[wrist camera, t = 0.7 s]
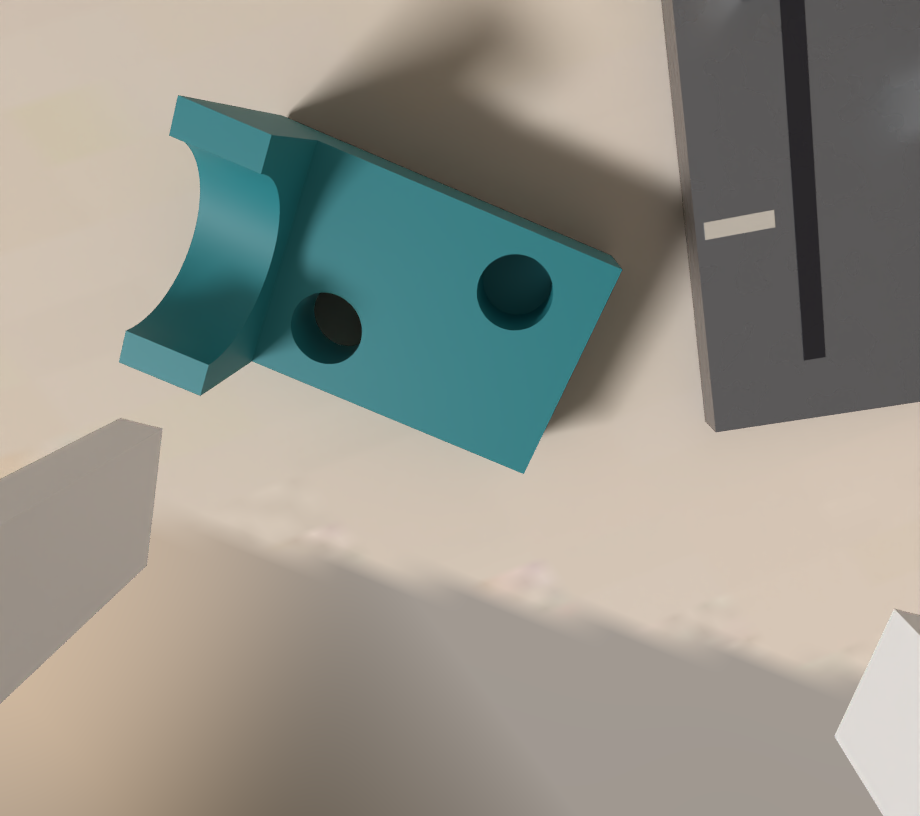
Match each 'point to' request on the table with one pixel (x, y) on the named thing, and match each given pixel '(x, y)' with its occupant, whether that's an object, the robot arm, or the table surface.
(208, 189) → the teal l-shaped bracket
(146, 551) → the robot arm
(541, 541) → the table surface
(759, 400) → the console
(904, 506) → the table surface
